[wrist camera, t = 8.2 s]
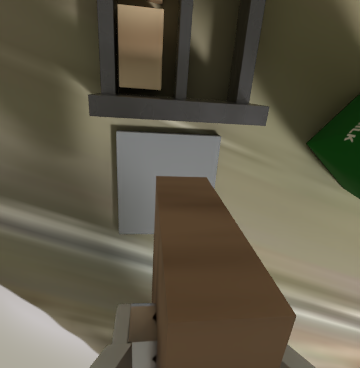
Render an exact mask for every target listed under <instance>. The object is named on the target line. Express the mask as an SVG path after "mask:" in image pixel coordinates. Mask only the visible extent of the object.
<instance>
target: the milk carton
mask: <svg viewBox="0 0 360 368" xmlns="http://www.w3.org/2000/svg"><path fill="white" fill-rule="evenodd" d="M307 145H308V146H309V147H310V148H311V150H312V151H313V152H314V153H315V154H316V156H317V157H318V158H319V159H320V160H321V162H322V163H323V164H324V165H325V167H326V168H327V169H328V170H329V171H330V173H331V174H332V175H333V176H334V177H335V179H336V180H337V181H338V182H339V184H340V185H341V186H342V187H343V188H344V189H345V190H347V191H348V192H350V193H351V194H353V195H354V196H356V197H357V198H359V199H360V94H359V95H358V96H357V97H356V98H355V99H354V100H353V101H352V102H351V103H349V104H348V105H347V106H346V107H345V108H344V109H343V110H342V111H341V112H340V113H339V114H338V115H337V116H335V117H334V118H333V119H332V120H331V121H330V122H329V123H328V124H327V125H326V126H325V127H324V128H323V129H321V130H320V131H319V132H318V133H317V134H316V135H315V136H314V137H313V138H312V139H311V140H310V141H309V142H307Z"/></svg>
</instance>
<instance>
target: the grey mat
mask: <svg viewBox="0 0 360 368" xmlns="http://www.w3.org/2000/svg"><path fill="white" fill-rule="evenodd" d="M220 141H221V136H219V135H201V134H181V133H161V132H140V131H120V130H117V131H116V142H117V178H118V215H119V234H154V223H155V194H156V176H177V177H207V179H208V180H209V182H210V183H211V185H212V186H213V188H215V180H216V172H217V164H218V157H219V149H220Z"/></svg>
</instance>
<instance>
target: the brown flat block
mask: <svg viewBox="0 0 360 368" xmlns="http://www.w3.org/2000/svg"><path fill="white" fill-rule="evenodd" d="M152 303H156V323H157V353H156V368H280V365H281V362H282V359H283V356H284V352H285V349H286V346H287V343H288V340H289V337H290V334H291V331H292V328H293V325H294V321H295V318H296V314H295V313H294V311H293V310H292V308H291V307H290V305H289V304H288V302H287V301H286V299H285V297H284V296H283V294H282V293H281V291H280V290H279V288H278V287H277V285H276V284H275V282H274V280H273V279H272V277H271V276H270V274H269V273H268V271H267V270H266V268H265V267H264V265H263V264H262V262H261V260H260V259H259V257H258V256H257V254H256V253H255V251H254V250H253V248H252V247H251V245H250V243H249V242H248V240H247V239H246V237H245V236H244V234H243V233H242V231H241V230H240V228H239V226H238V225H237V223H236V222H235V220H234V219H233V217H232V216H231V214H230V213H229V211H228V210H227V208H226V206H225V205H224V203H223V202H222V200H221V199H220V197H219V196H218V194H217V193H216V191H215V189H214V188H213V186H212V185H211V183H210V182H209V180H208V179H207V177H177V176H156V194H155V223H154V251H153V279H152Z"/></svg>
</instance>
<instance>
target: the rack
mask: <svg viewBox="0 0 360 368" xmlns="http://www.w3.org/2000/svg"><path fill="white" fill-rule="evenodd" d="M265 2H266V0H240V6H239V14H238V21H237V29H236V37H235V44H234V52H233V60H232V67H231V75H230V82H229V90H228V98H227V101H226V100H211V99H196V98H186V94H187V80H188V66H189V52H190V39H191V25H192V11H193V0H179V13H178V31H177V49H176V67H175V85H174V97H167V96H152V95H138V94H123V93H119V83H118V38H117V0H97V10H98V32H99V53H100V75H101V93H97V94H89V95H88V98H89V113H90V116H99V117H117V118H135V119H153V120H171V121H189V122H207V123H224V124H242V125H260V126H266V121H267V116H268V111H269V107H268V106H262V105H257V104H251V103H249V100H250V94H251V88H252V82H253V75H254V69H255V63H256V57H257V51H258V45H259V39H260V32H261V26H262V20H263V14H264V8H265Z"/></svg>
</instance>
